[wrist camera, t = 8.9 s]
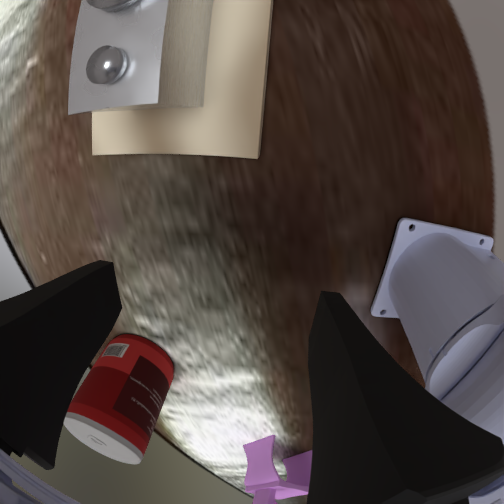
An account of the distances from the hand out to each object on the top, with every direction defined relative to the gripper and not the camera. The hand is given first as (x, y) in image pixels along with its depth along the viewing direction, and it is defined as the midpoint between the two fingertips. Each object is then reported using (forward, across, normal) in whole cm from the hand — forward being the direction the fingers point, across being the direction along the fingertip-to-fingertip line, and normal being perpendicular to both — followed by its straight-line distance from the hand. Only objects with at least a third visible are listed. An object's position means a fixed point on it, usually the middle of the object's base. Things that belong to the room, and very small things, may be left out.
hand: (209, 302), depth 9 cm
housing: (+8, +5, -10) cm, 14 cm away
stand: (+10, +5, -10) cm, 15 cm away
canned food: (+10, +10, +17) cm, 22 cm away
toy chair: (+10, -7, +34) cm, 36 cm away
